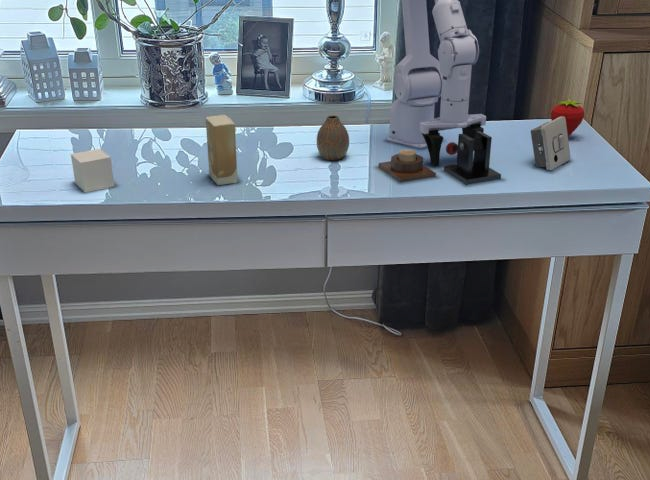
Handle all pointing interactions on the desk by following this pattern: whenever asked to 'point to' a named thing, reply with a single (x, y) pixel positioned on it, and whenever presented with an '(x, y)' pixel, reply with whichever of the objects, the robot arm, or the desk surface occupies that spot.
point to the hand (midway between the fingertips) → (450, 162)
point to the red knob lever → (453, 147)
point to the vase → (332, 139)
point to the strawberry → (569, 114)
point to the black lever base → (471, 169)
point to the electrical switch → (551, 144)
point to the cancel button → (407, 155)
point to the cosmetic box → (221, 149)
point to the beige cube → (92, 170)
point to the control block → (407, 169)
